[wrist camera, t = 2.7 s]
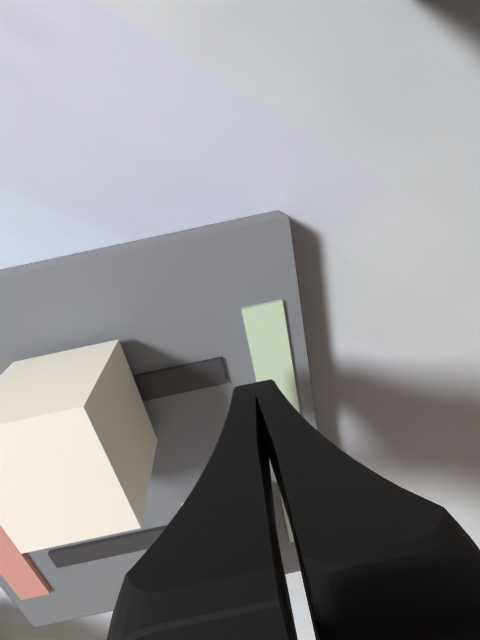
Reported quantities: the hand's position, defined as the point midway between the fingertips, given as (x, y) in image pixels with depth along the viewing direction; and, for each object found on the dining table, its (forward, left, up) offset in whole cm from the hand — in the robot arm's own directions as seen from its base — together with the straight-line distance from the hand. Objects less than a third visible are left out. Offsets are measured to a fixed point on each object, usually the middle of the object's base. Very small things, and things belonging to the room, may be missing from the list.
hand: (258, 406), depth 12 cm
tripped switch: (-7, 0, -2) cm, 7 cm away
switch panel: (-7, -5, -5) cm, 9 cm away
